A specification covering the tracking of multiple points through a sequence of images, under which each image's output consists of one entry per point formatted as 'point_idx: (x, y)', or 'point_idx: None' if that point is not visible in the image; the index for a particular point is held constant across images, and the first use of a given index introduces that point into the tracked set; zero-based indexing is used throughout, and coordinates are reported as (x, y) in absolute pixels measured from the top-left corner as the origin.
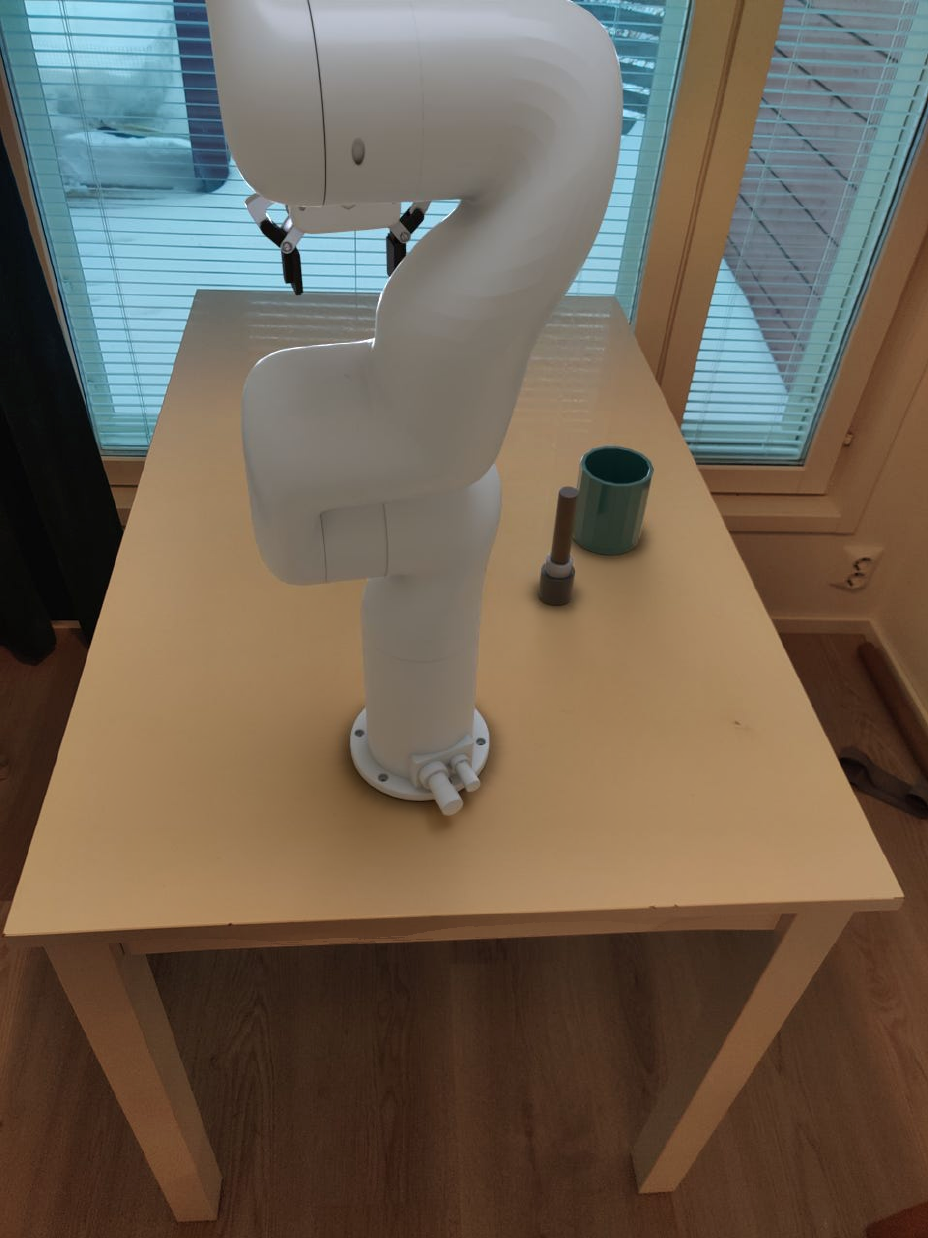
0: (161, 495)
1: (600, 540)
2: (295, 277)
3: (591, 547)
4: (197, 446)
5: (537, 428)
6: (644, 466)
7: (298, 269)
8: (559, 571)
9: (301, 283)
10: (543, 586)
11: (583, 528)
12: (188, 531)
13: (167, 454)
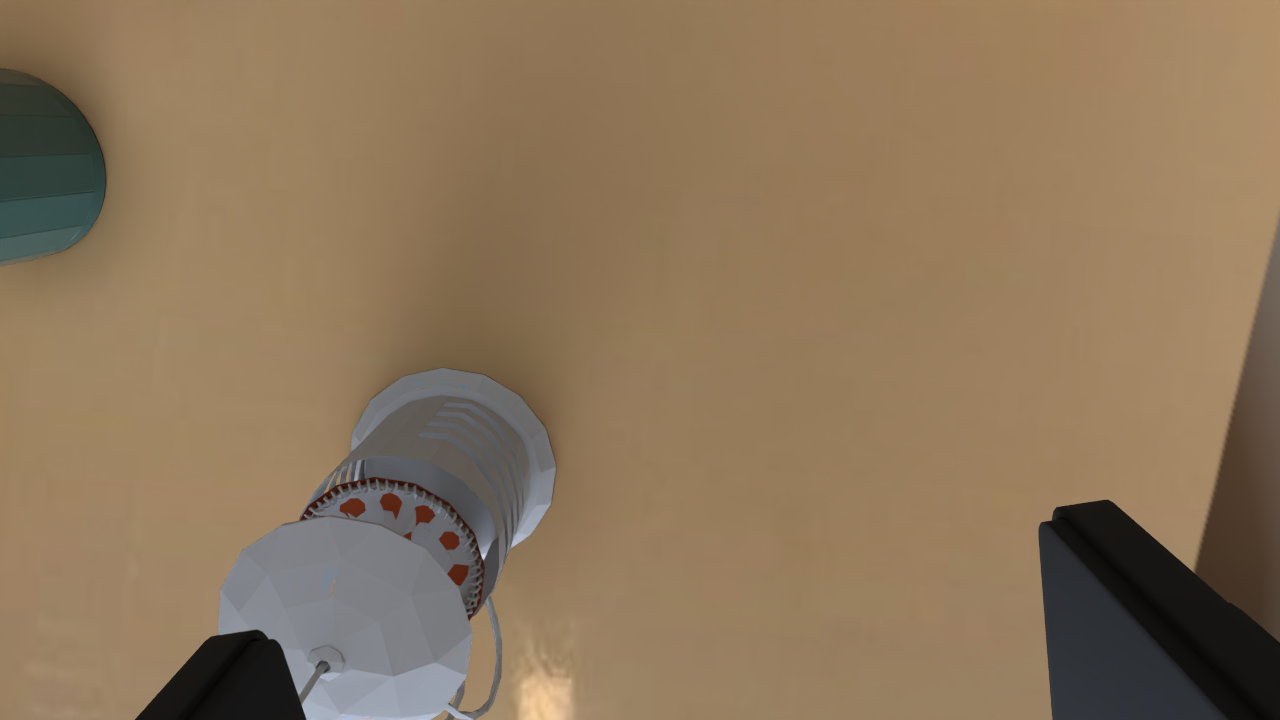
0: (1184, 440)
1: (5, 76)
2: (1185, 567)
3: (48, 88)
4: None
5: (171, 647)
6: None
7: (1188, 624)
8: None
9: (1090, 554)
10: None
11: (40, 111)
12: (1123, 275)
13: None
